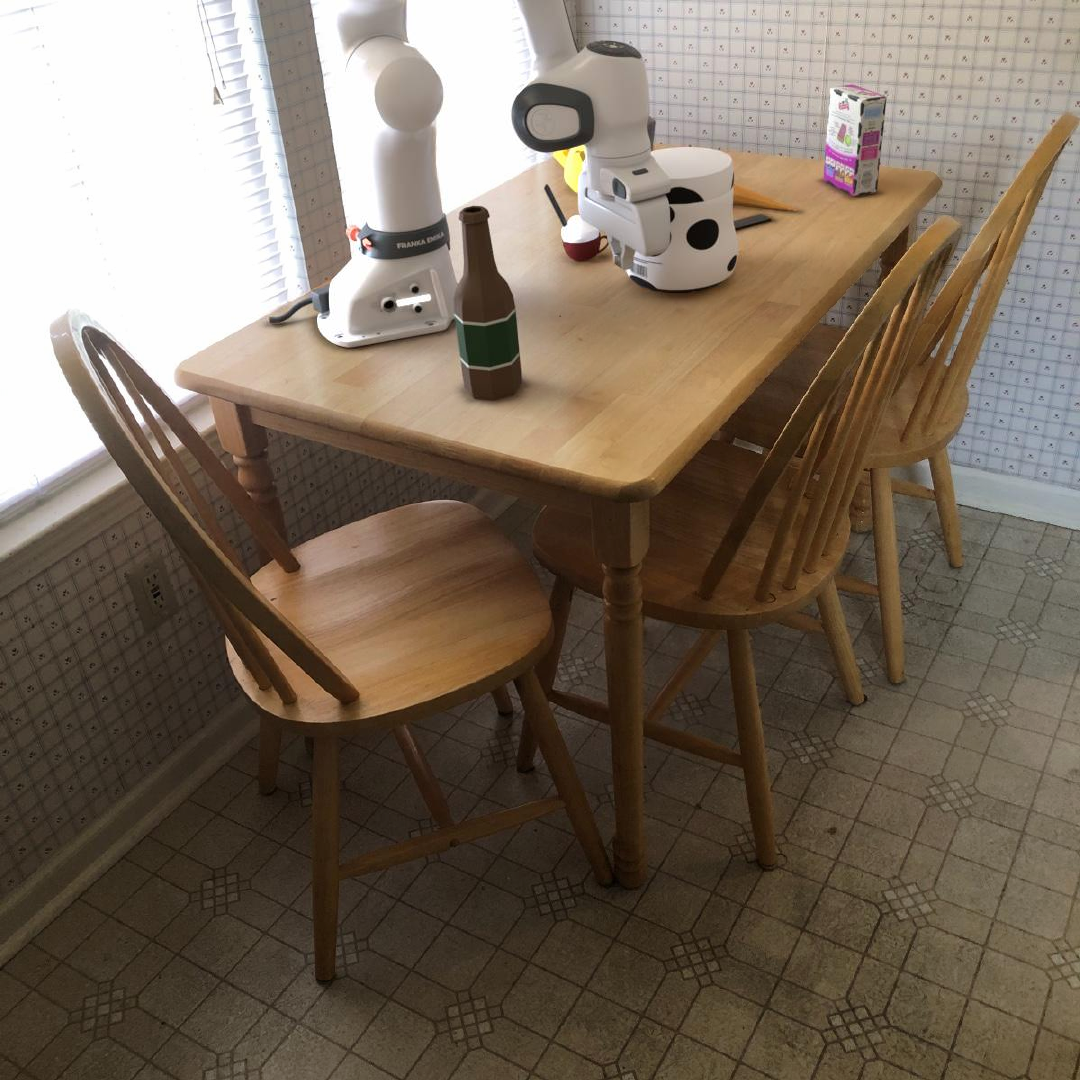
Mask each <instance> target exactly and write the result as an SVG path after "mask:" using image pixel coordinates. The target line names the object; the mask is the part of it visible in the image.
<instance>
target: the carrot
mask: <svg viewBox="0 0 1080 1080" xmlns="http://www.w3.org/2000/svg"><path fill="white" fill-rule="evenodd" d="M733 189H734V195H733V205H738V206H739V205H740V206H746V207H752V208H753V207H754V208H761V209H762V208H763V209H769V210H770V209H771V210H784V211H796V208H793V207H791V206H789V205H786V204H785V203H782V202H780V201H777V200H775V199H773V198H771V197H769V196H767V195H764V194H761V193H759V192H756V191H753V190H752V189H749V188H746V187H743V186H741V185H738V184H736V183H734V184H733Z"/></svg>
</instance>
